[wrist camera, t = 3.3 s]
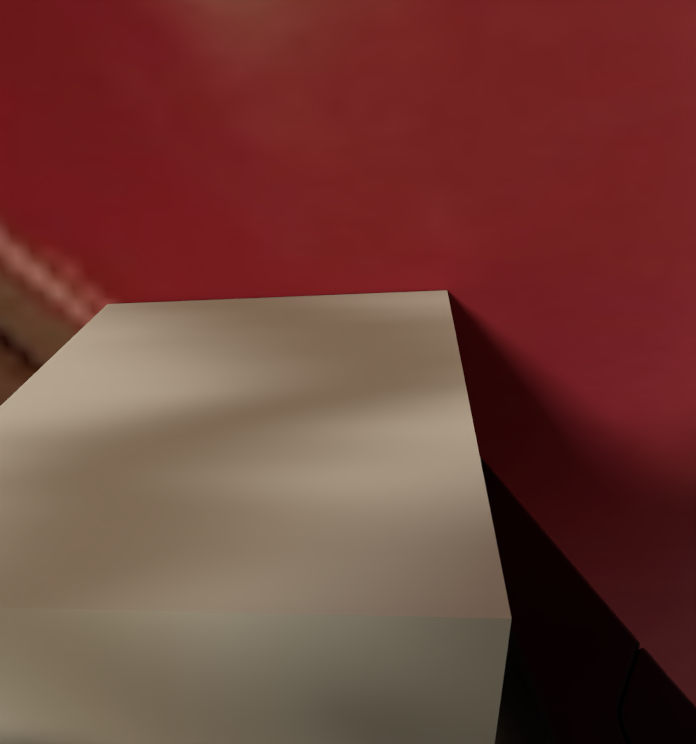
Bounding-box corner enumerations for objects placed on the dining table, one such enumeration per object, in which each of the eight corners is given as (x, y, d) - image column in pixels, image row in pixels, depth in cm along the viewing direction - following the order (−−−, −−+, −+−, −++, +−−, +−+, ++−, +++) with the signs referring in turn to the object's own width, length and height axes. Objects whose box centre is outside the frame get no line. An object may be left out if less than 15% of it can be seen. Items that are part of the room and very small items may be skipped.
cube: (447, 290, 8) (511, 617, 3) (441, 536, 10) (474, 892, 6) (107, 304, 8) (-207, 604, 4) (186, 534, 11) (49, 861, 7)
